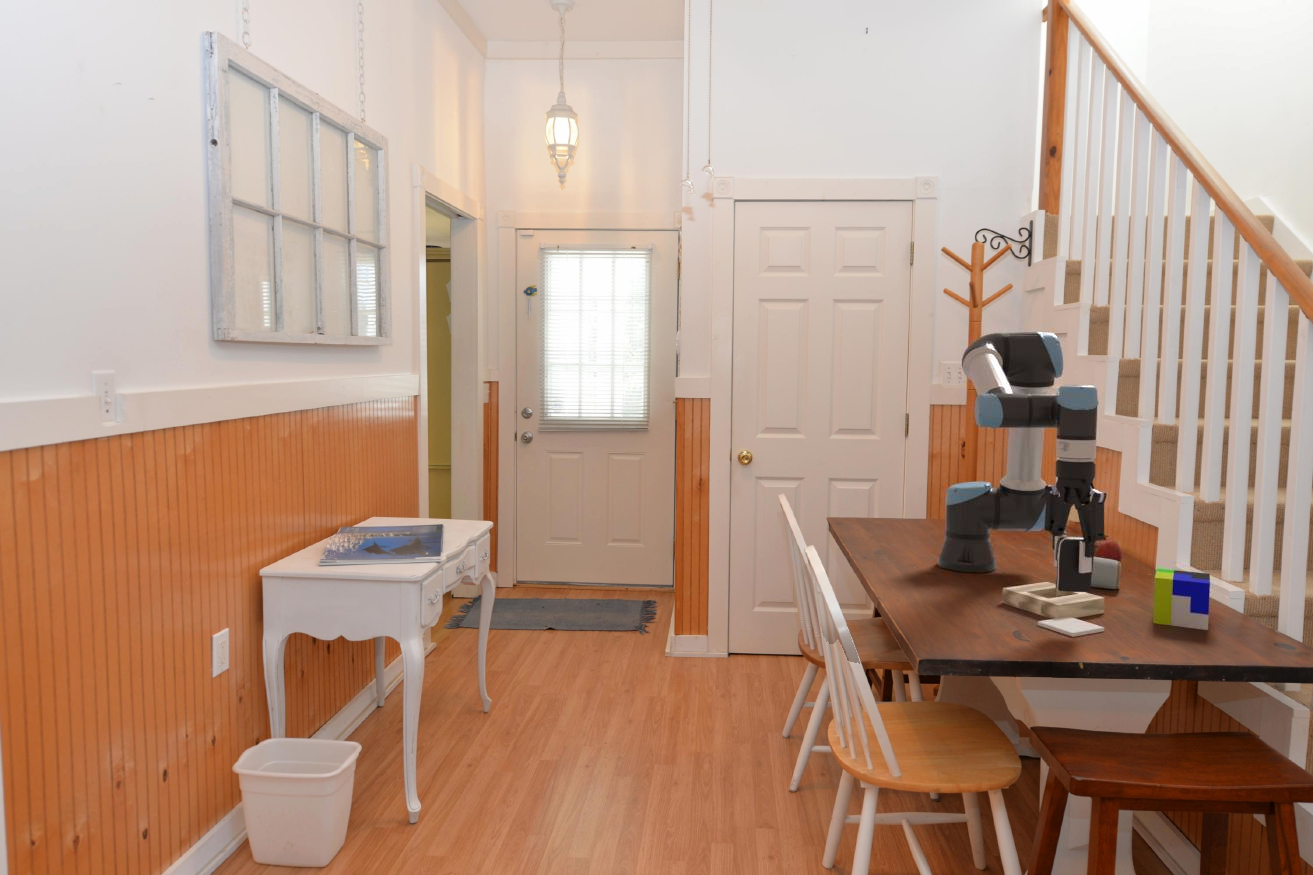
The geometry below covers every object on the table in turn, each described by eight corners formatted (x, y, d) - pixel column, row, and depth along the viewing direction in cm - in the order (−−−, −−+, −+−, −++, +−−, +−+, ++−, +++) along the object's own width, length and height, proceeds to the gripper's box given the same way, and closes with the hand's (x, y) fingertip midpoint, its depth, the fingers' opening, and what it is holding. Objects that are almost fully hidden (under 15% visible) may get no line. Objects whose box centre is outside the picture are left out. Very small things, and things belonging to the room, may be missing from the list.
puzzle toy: (1207, 630, 183) (1209, 583, 182) (1153, 623, 188) (1154, 577, 188) (1207, 618, 192) (1209, 573, 191) (1155, 612, 197) (1157, 568, 196)
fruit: (1112, 578, 228) (1114, 540, 227) (1073, 571, 235) (1075, 535, 234) (1129, 571, 235) (1130, 534, 234) (1090, 565, 242) (1091, 529, 241)
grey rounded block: (1120, 592, 213) (1121, 561, 213) (1083, 588, 217) (1084, 558, 217) (1120, 583, 223) (1121, 554, 222) (1084, 580, 227) (1085, 550, 226)
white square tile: (1037, 625, 188) (1037, 621, 187) (1068, 619, 191) (1068, 616, 191) (1072, 636, 179) (1072, 632, 179) (1104, 631, 183) (1104, 627, 183)
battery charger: (1084, 588, 186) (1088, 535, 185) (1092, 593, 183) (1096, 539, 181) (1051, 587, 187) (1054, 534, 186) (1057, 592, 183) (1061, 538, 182)
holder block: (1002, 602, 205) (1002, 588, 205) (1046, 596, 211) (1046, 581, 210) (1058, 620, 191) (1058, 604, 190) (1104, 612, 196) (1104, 597, 196)
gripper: (1027, 456, 189) (1024, 562, 191) (1101, 464, 172) (1097, 580, 174) (1052, 454, 192) (1049, 558, 194) (1128, 462, 175) (1124, 576, 177)
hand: (1072, 568), depth 184 cm, fingers closed on battery charger, 6 cm apart
